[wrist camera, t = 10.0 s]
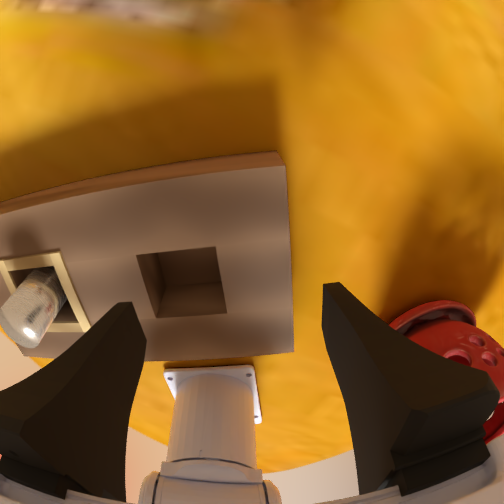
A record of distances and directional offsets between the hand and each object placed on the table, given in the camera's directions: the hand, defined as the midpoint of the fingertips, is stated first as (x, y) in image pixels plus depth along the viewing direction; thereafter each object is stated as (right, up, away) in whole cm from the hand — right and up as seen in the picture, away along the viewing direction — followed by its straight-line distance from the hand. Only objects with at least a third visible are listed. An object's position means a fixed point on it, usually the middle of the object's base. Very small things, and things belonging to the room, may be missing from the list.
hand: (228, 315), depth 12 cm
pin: (-13, +1, +9) cm, 16 cm away
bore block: (-8, +2, +9) cm, 13 cm away
